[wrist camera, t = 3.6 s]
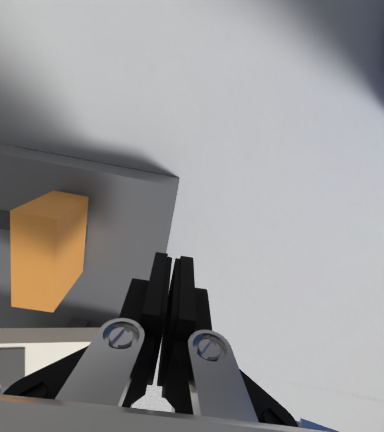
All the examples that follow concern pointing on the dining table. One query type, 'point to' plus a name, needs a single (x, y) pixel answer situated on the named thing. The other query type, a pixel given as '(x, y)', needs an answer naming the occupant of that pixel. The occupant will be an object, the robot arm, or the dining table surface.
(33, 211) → the orange rectangular prism
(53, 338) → the cream rocker
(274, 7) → the dining table surface
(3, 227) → the control panel
